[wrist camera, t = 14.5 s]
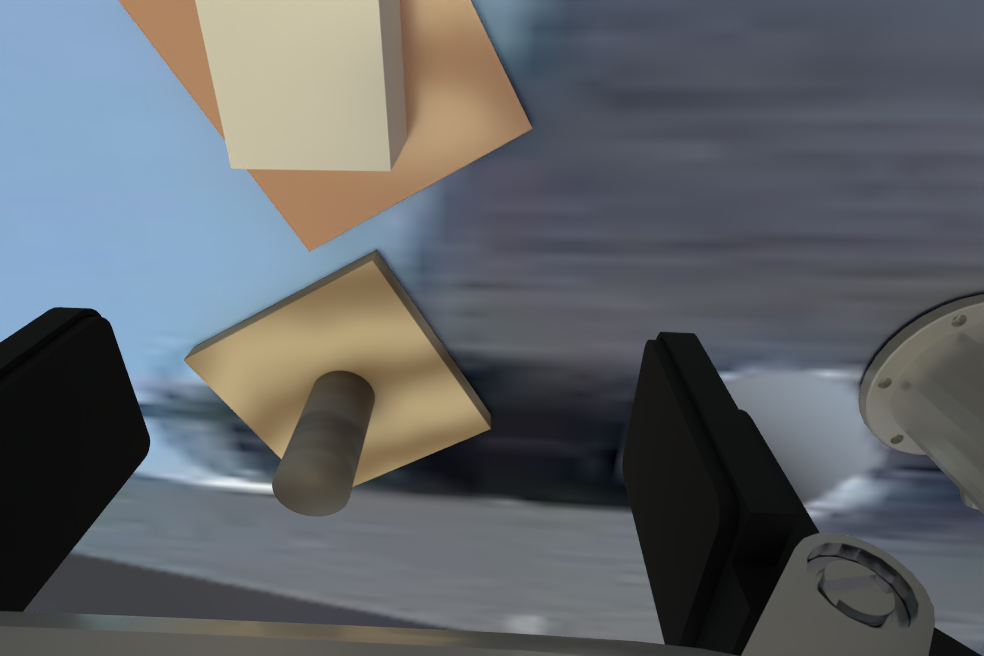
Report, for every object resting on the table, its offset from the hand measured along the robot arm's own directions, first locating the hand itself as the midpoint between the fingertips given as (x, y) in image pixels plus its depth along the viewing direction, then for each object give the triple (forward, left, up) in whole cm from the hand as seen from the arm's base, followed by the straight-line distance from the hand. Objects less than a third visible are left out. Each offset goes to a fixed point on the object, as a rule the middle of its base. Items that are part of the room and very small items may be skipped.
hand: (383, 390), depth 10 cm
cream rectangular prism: (+5, +3, -22) cm, 22 cm away
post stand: (-11, +14, -23) cm, 29 cm away
